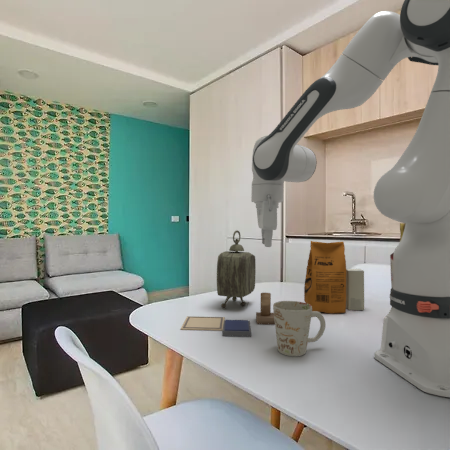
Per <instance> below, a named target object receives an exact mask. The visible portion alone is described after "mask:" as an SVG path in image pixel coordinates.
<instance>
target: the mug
mask: <svg viewBox="0 0 450 450" xmlns="http://www.w3.org/2000/svg"><path fill="white" fill-rule="evenodd" d="M272 310H273V313H274V320H275V325H274V328H275V336H276V344H277V351H278V352H279V353H280V354H282V355H285V356H288V357H302V356H304V355H306V353H307V348H308V343H313V342H317V341H318V340H319V339H321V337H322V336H323V335H324V333H325V330H326V319H325V317H324V315H323V314H322V312H318V311H312V306H311V305H310V304H307V303H305V302H304V301H297V300H281V301H277V302H274V303H273V304H272ZM312 318H317V319H318V320H319V323H320V327H319V330H318V332H317V333H316V335H315V336H314V337H309V334H310V329H311V321H312Z"/></svg>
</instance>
